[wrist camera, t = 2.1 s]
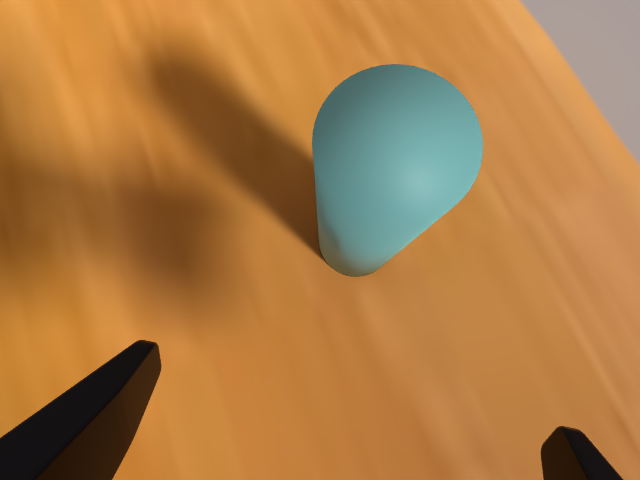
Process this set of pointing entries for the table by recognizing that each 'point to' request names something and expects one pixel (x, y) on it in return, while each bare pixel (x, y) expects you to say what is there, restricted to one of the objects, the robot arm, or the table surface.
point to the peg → (389, 162)
